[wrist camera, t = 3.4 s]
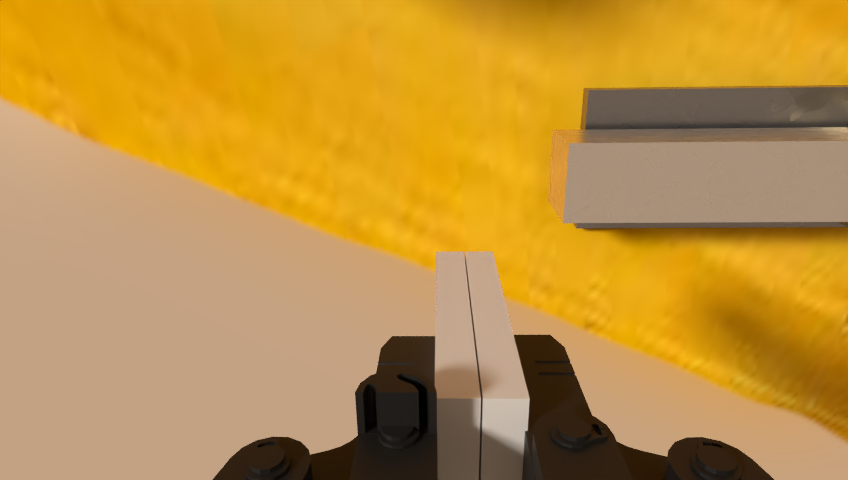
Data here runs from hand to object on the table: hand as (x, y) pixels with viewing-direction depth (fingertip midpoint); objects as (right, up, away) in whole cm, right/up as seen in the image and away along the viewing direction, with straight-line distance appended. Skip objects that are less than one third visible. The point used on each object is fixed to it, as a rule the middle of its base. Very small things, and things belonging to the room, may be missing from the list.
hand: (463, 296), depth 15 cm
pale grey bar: (+17, +6, +15) cm, 23 cm away
